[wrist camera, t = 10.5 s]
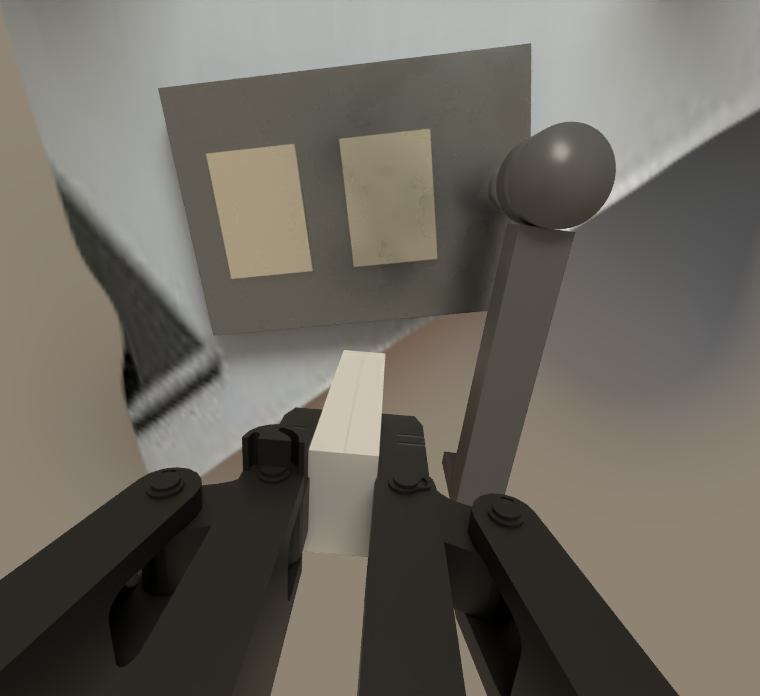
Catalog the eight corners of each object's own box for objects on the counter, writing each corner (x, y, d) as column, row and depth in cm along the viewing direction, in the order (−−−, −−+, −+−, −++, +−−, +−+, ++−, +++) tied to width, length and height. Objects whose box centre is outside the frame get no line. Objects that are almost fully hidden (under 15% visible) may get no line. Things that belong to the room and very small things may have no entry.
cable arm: (493, 139, 22) (527, 114, 16) (570, 150, 22) (628, 129, 16) (429, 460, 27) (439, 519, 22) (490, 468, 27) (515, 528, 22)
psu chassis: (527, 56, 24) (572, 4, 18) (525, 300, 28) (562, 323, 22) (176, 98, 25) (109, 61, 19) (225, 327, 29) (183, 356, 23)
